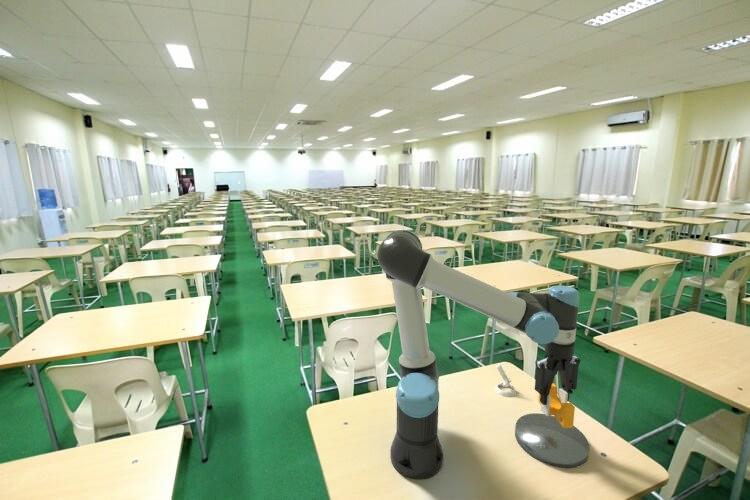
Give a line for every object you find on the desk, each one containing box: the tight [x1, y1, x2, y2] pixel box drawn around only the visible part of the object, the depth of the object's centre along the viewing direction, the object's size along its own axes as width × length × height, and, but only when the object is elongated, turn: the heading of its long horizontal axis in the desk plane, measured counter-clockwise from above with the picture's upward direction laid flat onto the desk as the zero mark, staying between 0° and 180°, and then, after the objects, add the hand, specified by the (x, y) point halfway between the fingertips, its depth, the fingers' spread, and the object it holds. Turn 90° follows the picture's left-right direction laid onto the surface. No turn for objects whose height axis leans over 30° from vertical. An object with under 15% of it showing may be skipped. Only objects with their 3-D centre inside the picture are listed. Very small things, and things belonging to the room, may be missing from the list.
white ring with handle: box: [494, 363, 517, 398], centre depth 132 cm, size 8×12×7 cm
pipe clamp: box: [537, 382, 576, 428], centre depth 101 cm, size 12×4×6 cm, turn 178°
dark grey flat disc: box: [514, 412, 590, 469], centre depth 104 cm, size 20×20×2 cm
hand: (553, 411), depth 103 cm, fingers closed on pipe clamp, 5 cm apart
